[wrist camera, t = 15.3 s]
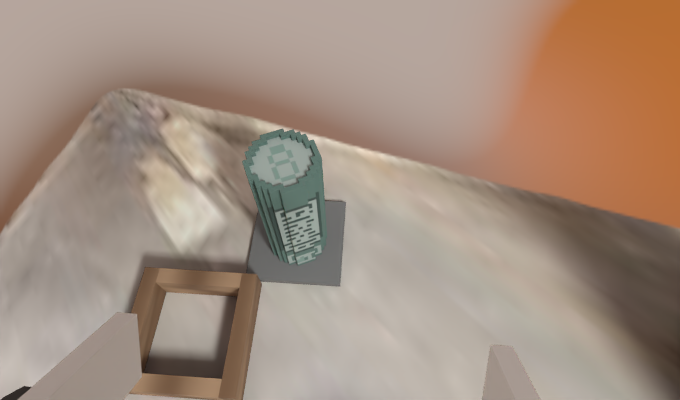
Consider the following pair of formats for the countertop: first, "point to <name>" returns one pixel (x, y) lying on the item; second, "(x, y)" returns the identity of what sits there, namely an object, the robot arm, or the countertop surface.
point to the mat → (313, 272)
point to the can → (289, 193)
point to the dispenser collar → (247, 288)
